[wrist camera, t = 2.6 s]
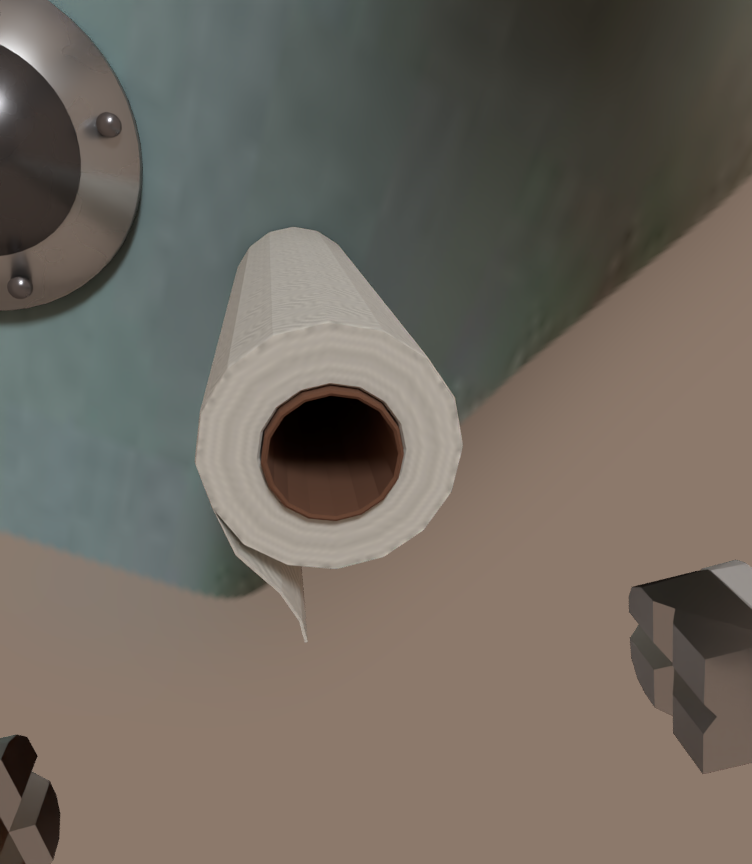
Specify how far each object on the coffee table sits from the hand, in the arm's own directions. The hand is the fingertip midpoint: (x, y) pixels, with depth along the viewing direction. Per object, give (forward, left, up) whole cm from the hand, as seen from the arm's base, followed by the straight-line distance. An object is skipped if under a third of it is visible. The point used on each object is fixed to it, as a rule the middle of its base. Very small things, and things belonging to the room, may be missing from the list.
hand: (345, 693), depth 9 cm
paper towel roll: (0, 0, -28) cm, 28 cm away
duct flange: (+12, -9, -28) cm, 32 cm away
